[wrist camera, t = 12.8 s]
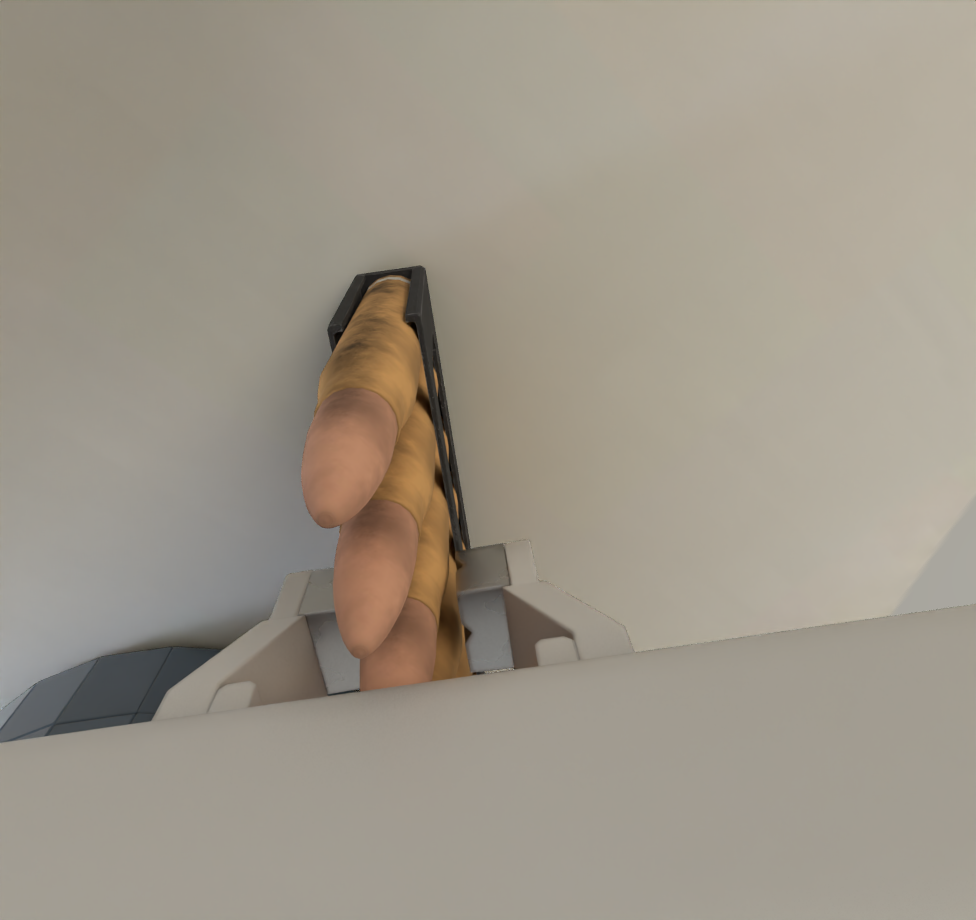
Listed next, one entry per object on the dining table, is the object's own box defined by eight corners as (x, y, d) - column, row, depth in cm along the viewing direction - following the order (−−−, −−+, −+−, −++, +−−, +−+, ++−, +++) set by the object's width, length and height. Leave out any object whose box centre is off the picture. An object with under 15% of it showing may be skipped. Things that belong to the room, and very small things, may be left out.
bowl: (70, 1008, 29) (-17, 1204, 24) (-133, 684, 22) (-323, 857, 17) (482, 948, 29) (492, 1131, 24) (412, 607, 22) (401, 753, 17)
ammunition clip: (479, 602, 22) (514, 1032, 11) (422, 610, 22) (402, 1049, 11) (424, 264, 18) (395, 426, 7) (354, 274, 18) (214, 452, 7)
